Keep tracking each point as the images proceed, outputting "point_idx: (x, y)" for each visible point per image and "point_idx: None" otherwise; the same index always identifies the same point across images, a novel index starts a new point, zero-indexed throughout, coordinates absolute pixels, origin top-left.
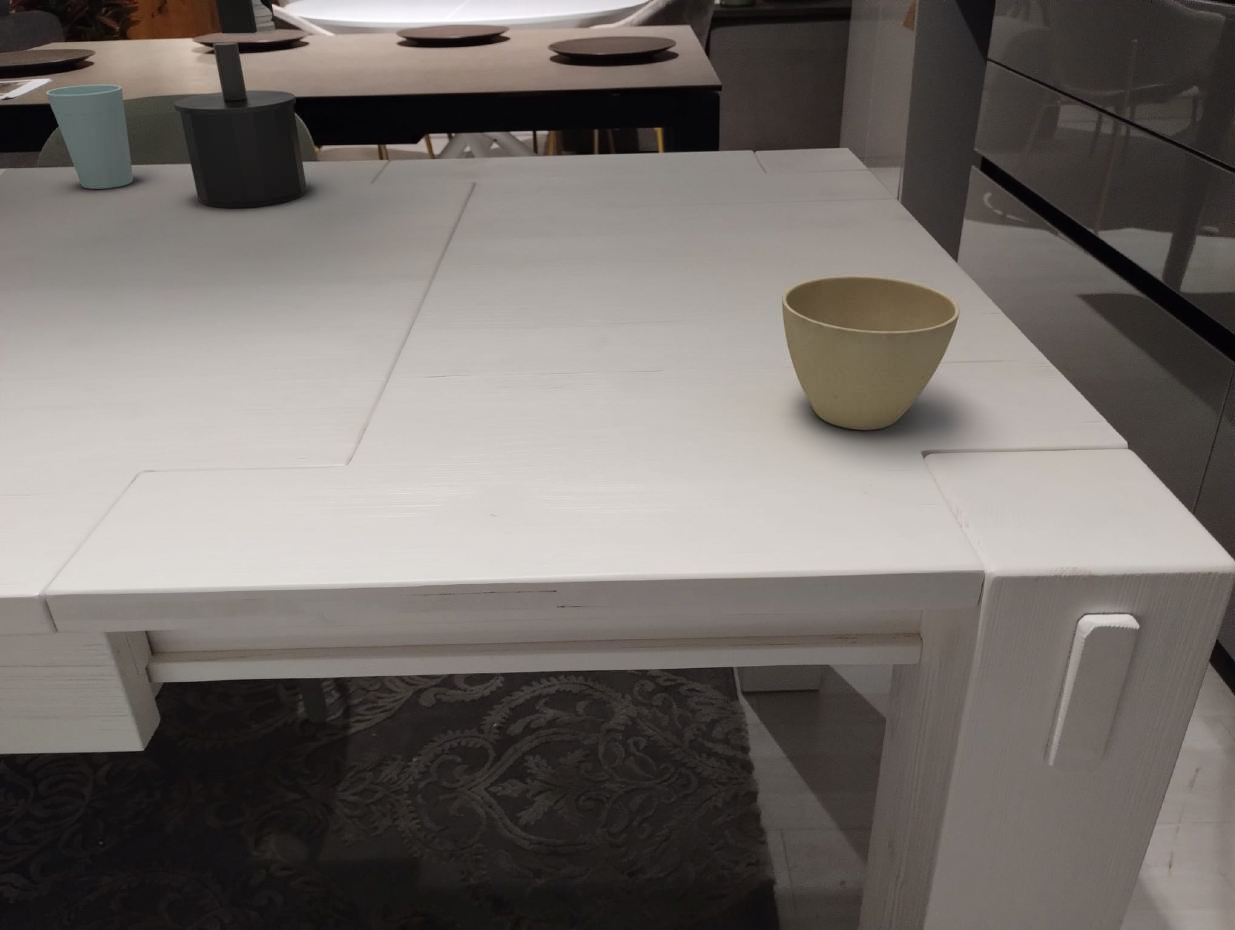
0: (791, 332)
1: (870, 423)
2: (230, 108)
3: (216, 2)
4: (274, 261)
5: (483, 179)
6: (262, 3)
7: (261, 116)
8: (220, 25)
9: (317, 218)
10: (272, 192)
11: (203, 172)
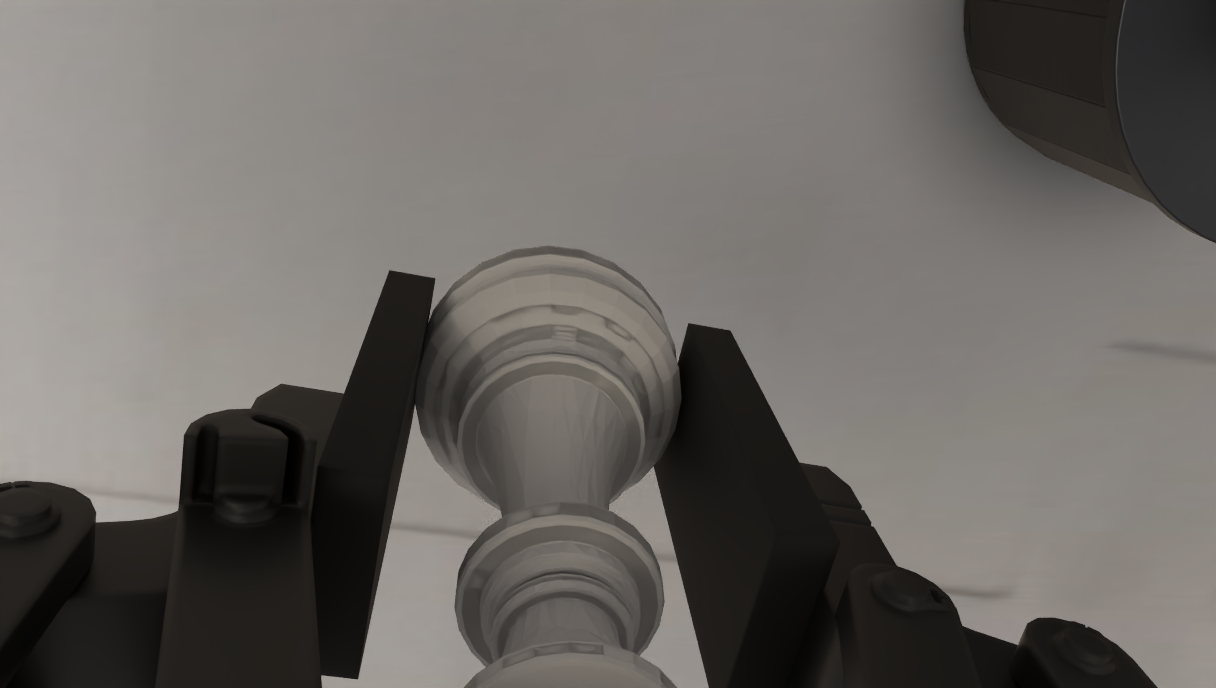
0: None
1: None
2: (1123, 29)
3: (373, 323)
4: (359, 136)
5: (1033, 615)
6: (674, 486)
7: None
8: (385, 282)
9: (768, 216)
10: (987, 83)
11: None
